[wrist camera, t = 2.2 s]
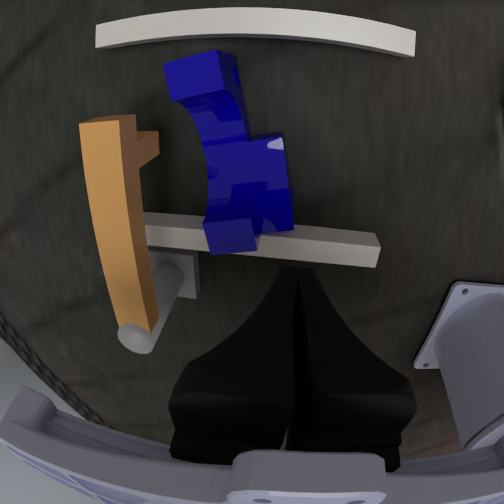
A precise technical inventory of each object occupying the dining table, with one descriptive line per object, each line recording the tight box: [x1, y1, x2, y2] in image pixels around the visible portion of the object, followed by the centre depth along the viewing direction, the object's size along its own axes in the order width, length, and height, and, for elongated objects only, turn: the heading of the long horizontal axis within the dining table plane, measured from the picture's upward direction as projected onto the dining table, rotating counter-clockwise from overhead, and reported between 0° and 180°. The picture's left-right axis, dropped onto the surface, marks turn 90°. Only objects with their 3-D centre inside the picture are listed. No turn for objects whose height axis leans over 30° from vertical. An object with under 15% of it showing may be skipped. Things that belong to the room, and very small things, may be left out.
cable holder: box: [163, 50, 294, 255], centre depth 13 cm, size 8×4×4 cm, turn 11°
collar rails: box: [96, 8, 416, 299], centre depth 15 cm, size 14×15×2 cm
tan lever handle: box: [79, 114, 184, 354], centre depth 14 cm, size 10×2×5 cm, turn 178°
